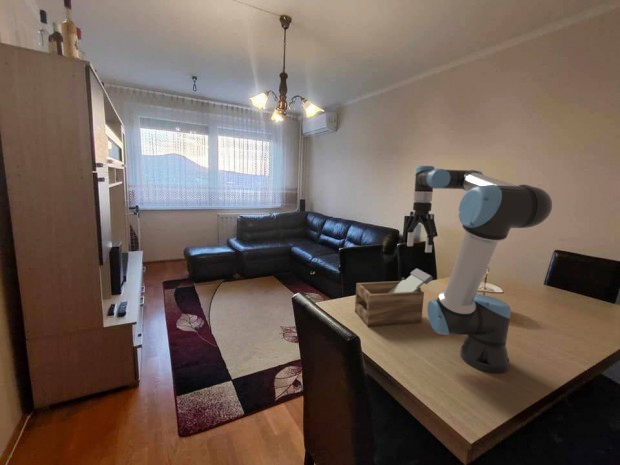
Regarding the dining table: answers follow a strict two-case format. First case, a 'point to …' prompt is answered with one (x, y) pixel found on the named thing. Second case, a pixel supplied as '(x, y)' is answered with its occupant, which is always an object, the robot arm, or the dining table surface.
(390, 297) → the crate
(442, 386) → the dining table surface
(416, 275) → the lid
